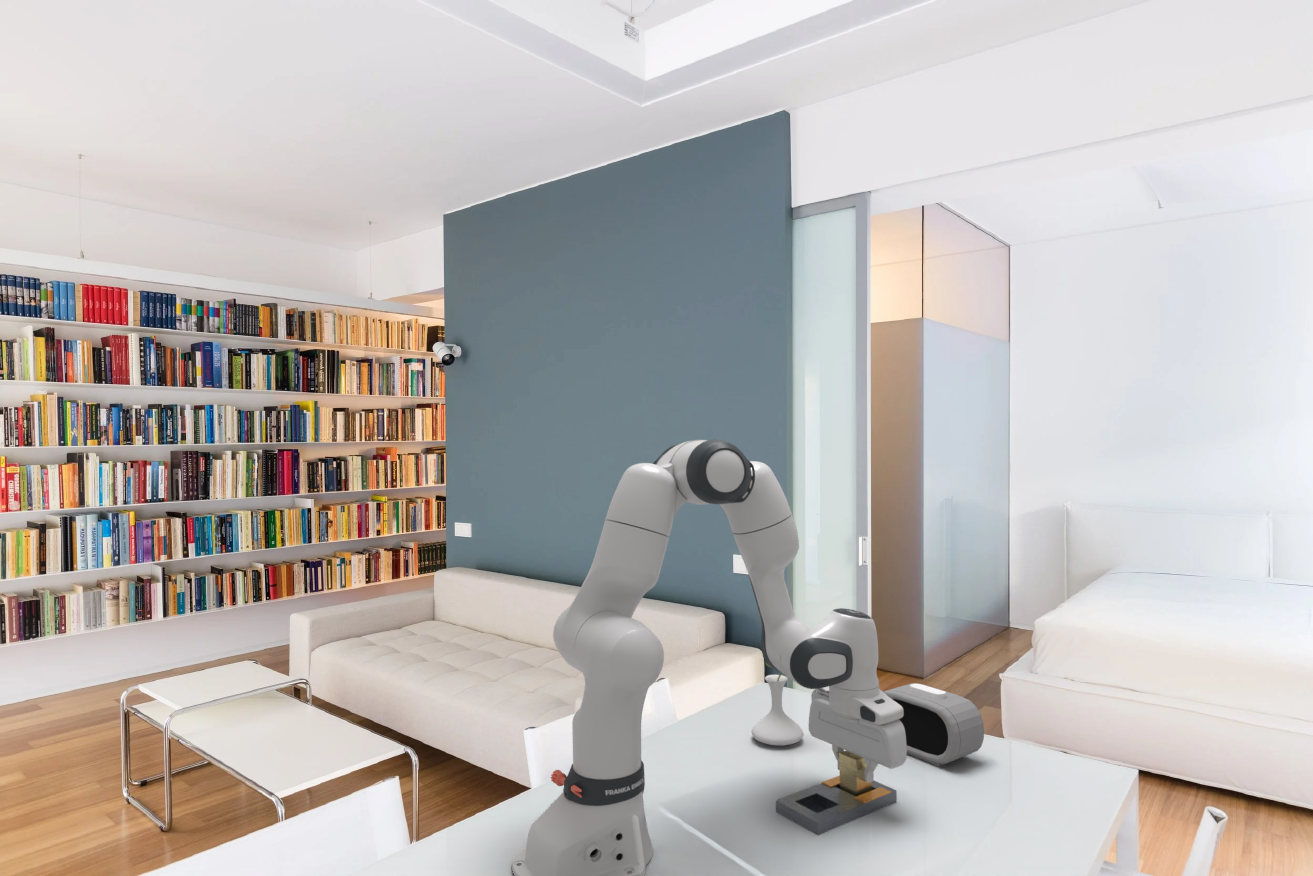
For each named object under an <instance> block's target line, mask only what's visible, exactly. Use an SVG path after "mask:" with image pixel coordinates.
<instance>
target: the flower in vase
mask: <svg viewBox="0 0 1313 876" xmlns="http://www.w3.org/2000/svg"><path fill="white" fill-rule="evenodd" d="M764 664H765V665H766V666H767V667H769V668H771V669H773V668H772V667H770V666H769V665H768V663H767V662H766V661H765V662H764ZM764 679H765V681H766V682H767V684H768V686H769V689H770V695H771V696H770V697H771V708H770V710H769V712H768V713H767V714H766V715H765V716H763V717H762V718H761V719H760V720H758V721H757V722H756V723H755V724H754V725H753V727H752V729H751V735H752V736H753V738H754V739H755V740H757V741H758V742H761V743H762V744H765V745H770V746H789V745H793V744H796V743H799V742H800V741H801V740H802V739H803V737H804V736H805V735H804V734H805V733H804V731H803V729H802V728H801V726H800V725H799V724H798V723H797V722H796V721H795V720H793V719H792V718H791V717H790V716H789V715H787V714H786V712H784V709H783V702H782V701H783V700H782V699H783V690H784V686H785V684H786V683H787V681H788V679H789V678H788V677H787V676H786V675H784V674H783V673H781V672H779V674H768V675H766V676H765V677H764Z"/></svg>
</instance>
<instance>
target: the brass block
mask: <svg viewBox="0 0 1313 876" xmlns="http://www.w3.org/2000/svg"><path fill="white" fill-rule="evenodd" d="M867 765H868V764H865V758H863V757H861V756H859V755H856V754H854V753H851V752H849V751H846V750H844V752H841V753H839V770H838V771H839V776H840V789H841V790H843V791H845V792H847V793H849V794H852V795H854V796H856V797H857V796H859V795H862V794H864V793H867V792H869V791H872V782H870V783H867V782H865V781H863V780H861V770H865V769H866V767H867Z"/></svg>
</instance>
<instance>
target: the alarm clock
mask: <svg viewBox="0 0 1313 876" xmlns="http://www.w3.org/2000/svg"><path fill="white" fill-rule="evenodd" d="M883 692H884V693H885V694H886V695H887V696H888V697H890V698H891V699H892V700H894V701H895V702H897V703H898V704H899V705H901V706H902V708H903V711H904V715H903V717H902V718H900V719H899V720H900V721H901V722H902V724H903V726H904V729H905V734H906V746H907V755H910V756H912V757H914V758H917V759H919V760H921V761H925V762H927V763H930V764H932V765H935V766H938V767H941V766H944V765H946V764H949V763H952V762H954V761H956V759H957V760H959V758H960V759H962V758H963V757H965V756H968V755H971V754H973V753H976V752H978V751H979V750H980V749H981V748H982V745H983V742H984V737H985V728H984V727H985V726H984V721H983V717H982V714H981V712H980V711H979V709H978V707H977V706H976V705H975V704H974V703H973V702H972V700H970V699H967V698H965V697H963V696H961V695H958V694H956V693H952V692H949V691H945V690H942V689H940V688H935V687H932V686H928V685H925V684H923V683H922V684H921V683H915V682H912V683H908V684H905V685H901V686H898V687H895V688H890V689H888V690H885V691H883ZM961 757H962V758H961Z"/></svg>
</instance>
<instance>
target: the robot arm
mask: <svg viewBox="0 0 1313 876" xmlns="http://www.w3.org/2000/svg"><path fill="white" fill-rule="evenodd" d="M617 484H618V485H617V486H616V489H615V490H614V494H613V496H612V498H611V501H610V504H609V506H608V510H607V513H606V516H605V520H604V523H603V527H602V528H601V529H602V530H601V534H600V537H599V540H598V544H597V547H596V551H595V554H594V557H593V561H592V563H591V566H590V569H589V570H588V573H587V575H586V577H585V579H584V581H583V583H582V584H581V586H580V588H579V590H578V592H577V594H576V595H575V597H574V599H573V601H572V602H571V604H570V605H569V606H568V607H567V608H566V609H564V611H562V613H560V614H559V616H558V618H557V620H556V621H555V624H554V626H553V627H554V628H553V635H552V636H553V643H554V645H555V647H556V649H557V651H558V653H559V654H560V655H561V657H562V658H563V659H564V661H565V662H566V664H568V665H570V667H572V668H575V669H576V670H578V671H579V672H581V673H582V674H583V677H584V691H583V697H582V701H581V704H580V707H579V709H578V710H576V711H575V713H574V715H573V718H572V726H571V728H572V764H571V765H570V768H569V771H568V773H567V775H566V774H565V773H564V772H562V771H561V770H560V769H555V770H553V772H552V774H551V775H550V779H551V782H552V783H553V784H555V785H556V786H558V787H562V786H563V789H562V792H561V794H559V796H558V797H557V798H556V799H555V800H554V801H553V802H552V803H551V804H550V805H549V806H548V808H546V809H545V810H544V811H543V812H542V813H541V815H540V816H538V817H537V818H536V819H535V820H534V821H533V822H532V823H531V824H530V825H531V826H530V827H529V831H528V834H527V840H526V849H525V850H522V851H521V852H519V853H516V854H515V855H514V856H513V858H512V862H511V871H513V872H512V874H513V873H514V875H515V876H646V867H647V865H648V864H649V862H650V861H651V860H652V858H653V854H654V847H653V844H652V842H651V838H650V834H649V830H648V825H647V821H646V812H645V804H644V803H645V802H644V792H645V784H646V783H645V779H646V778H645V763H644V762H643V760H642V719H643V717H642V715H643V711H644V704H645V701H646V696H647V695H648V694H647V693H648V690H649V688H650V687H651V686H652V685H653V684H654V683H655V682H656V680H657V679H658V678H659V676H660V674H661V672H662V669H663V667H664V661H665V653H664V647H663V644H662V643H661V640H660V639H659V637H658V636H656V634H654V632H653V631H652V630H650V628H649V627H648V626H646V625H645V624H644V623H643V622H641V621H640V620H637V619H635V618H633V615H634V614H635V611H636V609H637V607H638V605H639V603H640V602H641V601H642V599H643V597H644V596H645V594H646V593H648V592H649V591H650V590H651V589H653V588H654V587H655V586H656V585H657V583H658V581H659V578H660V574H661V569H662V566H663V562H664V559H665V555H666V552H667V547H668V543H669V540H670V538H669V537H670V536H671V532H672V529H673V522H674V519H675V517H676V515H677V513H678V511H679V510H680V508H681V507H682V506H683V505H684V504H685V503H689V504H692V505H697V506H698V505H699V506H700V505H703V506H704V505H719V506H720V507H721V509H723V511H724V513H725V515H726V516H727V519H728V522H729V523H728V524H729V527H730V529H731V533H732V535H733V539H734V541H735V543H736V544H735V545H736V546H737V549H738V551H739V555H740V556H741V558H742V561H743V564H744V566H745V569H746V572H747V574H748V577H749V578H748V579H749V582H750V585H751V589H752V593H753V595H754V599H755V603H756V607H757V610H758V613H759V617H760V620H761V634H760V635H761V636H760V637H761V640H760V648H761V653H762V657H763V659H764V660H765V662H766V663H767V664H768V665H769V666H770V667H769V666H768V667H769V668H771V667H772V668H771V669H773V670H775V671H777V672H778V673H782V675H783V676H786V677H787V678H788V679H790V680H791V681H793V682H795V683H796V684H797V685H799V686H801V687H803V688H806V689H810V690H813V691H811V694H810V695H811V703H810V706H809V713H808V714H809V716H808V731H809V733H810V735H811V737H813V738H815V739H817V740H820V741H822V742H826V743H828V744H830V745H832V746H831V749H832V752H833V754H834V757H835V759H836V761H837V770H838V771H840V770H839V753H841V752H844V751H849V752H851V753H854V754H856V755H859V756H861V757H863V758H865V764H868V765H867V767H866V769H865V770H861V780H863V781H865V782H867V783H870V782H872V781H873V780H874V772H875V771H876V769H877V767H878V765H881V766H883V767H886V768H888V769H892V770H893V769H896V768H899V767H901V766H903V765H904V764H905V762H906V761H907V755H908V754H907V746H906V734H905V729H904V726H903V724H902V722H901V721H900V720H899V719H900V718H902V717H903V715H904V711H903V708H902V706H901V705H899V704H898V703H897V702H895V701H894V700H892V699H891V698H890V697H888V696H887V695H886V694H885V693H884V691H883V690H882V689H880V681H879V677H878V675H877V673H878V672H877V668H878V663H879V641H878V640H879V639H878V633H877V627H876V624H875V621H874V619H873V618H872V617H871V616H870V615H868V614H866V613H864V612H862V611H860V610H859V611H858V610H855V609H850V608H844V607H843V608H841V607H839V608H835V609H832V611H831V612H830V613H829V615H827V617H826V618H824V619H823V620H822V621H820V622H818V623H817V624H815V625H813V626H810V627H807V626H806V625H805V624H804V623H803V622H802V621H801V620H800V619H799V618H798V617H797V615H796V614H795V611H794V608H793V605H792V601H791V597H790V594H789V589H788V587H787V584H786V583H787V582H786V580H785V569H786V568H787V567H788V566H789V565H790V564H791V563H792V562H793V561H794V559H795V558H796V556H797V555H798V553H799V549H800V540H799V535H798V534H799V533H798V529H797V525H796V522H795V519H794V516H793V512H792V510H791V507H790V505H789V502H788V500H787V497H786V494H785V493H784V491H783V488H782V486H781V484H780V482H779V481H778V478H777V477H776V475H775V474H774V472H773V470H772V469H771V467H770V466H768V465H767V464H766V463H764V462H761V461H757V460H755V461H753V460H749V459H747V457H746V456H745V454H744V453H743V451H741V449H739V448H738V447H737V445H736V446H735V444H732V443H731V442H729V441H726V440H724V439H723V440H722V439H715V438H714V439H708V440H706V439H692V440H688V441H684V442H679V443H676V444H675V443H674V444H673V445H671V446H669V447H668V448H666V449H665V450H664V451H663V452H662V453H661V454H660V455H659V456H658V458H656V459H655V461H653V462H652V463H649V462H639V463H635V464H633V465H630V466H629V467H628V468H627V469H626V470H625V471H624V473H623V474H622V476H621V478H620V480H619V482H618V483H617ZM827 687H828V690H827V689H825V688H827ZM514 875H513V876H514Z"/></svg>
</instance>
